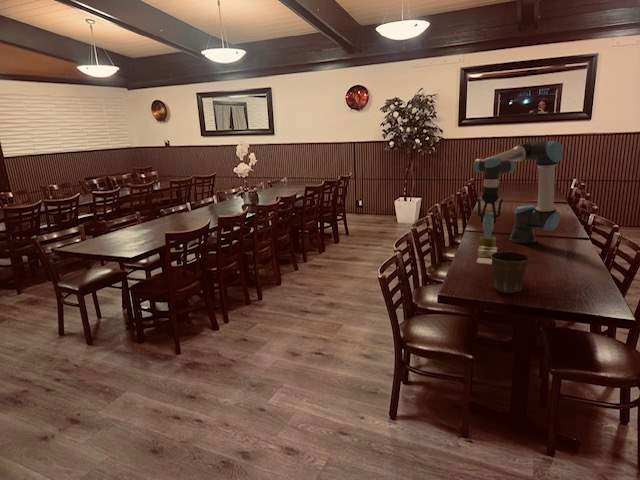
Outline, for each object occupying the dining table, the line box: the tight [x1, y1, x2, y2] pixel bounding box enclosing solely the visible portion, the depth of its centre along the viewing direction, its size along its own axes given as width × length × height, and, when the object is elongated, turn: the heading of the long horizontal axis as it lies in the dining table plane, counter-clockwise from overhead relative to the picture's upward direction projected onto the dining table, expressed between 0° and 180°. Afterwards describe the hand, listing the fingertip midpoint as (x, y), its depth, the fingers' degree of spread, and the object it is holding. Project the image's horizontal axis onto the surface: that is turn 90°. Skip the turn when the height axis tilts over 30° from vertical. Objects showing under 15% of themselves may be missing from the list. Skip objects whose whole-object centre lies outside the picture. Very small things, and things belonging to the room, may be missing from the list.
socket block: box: [477, 245, 498, 259], centre depth 247 cm, size 10×10×4 cm
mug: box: [479, 235, 497, 247], centre depth 257 cm, size 12×10×10 cm
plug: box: [483, 211, 494, 239], centre depth 231 cm, size 4×4×14 cm
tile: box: [476, 257, 493, 266], centre depth 236 cm, size 9×9×1 cm
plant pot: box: [490, 251, 530, 294], centre depth 195 cm, size 16×16×16 cm
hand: (487, 228), depth 231 cm, fingers closed on plug, 4 cm apart
